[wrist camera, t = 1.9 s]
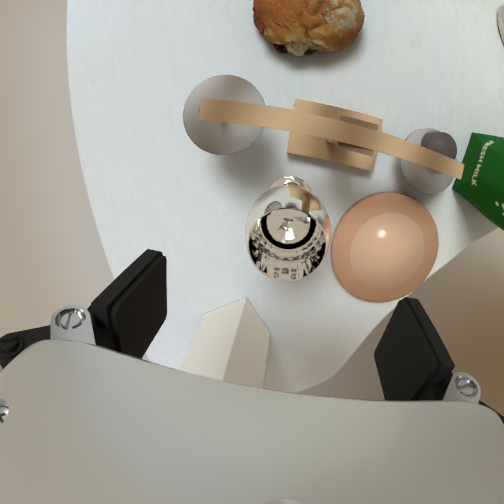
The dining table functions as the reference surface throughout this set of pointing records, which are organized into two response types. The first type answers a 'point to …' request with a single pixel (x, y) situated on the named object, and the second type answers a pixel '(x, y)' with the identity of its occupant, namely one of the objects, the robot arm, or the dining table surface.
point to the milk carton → (484, 176)
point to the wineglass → (287, 231)
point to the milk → (230, 345)
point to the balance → (314, 132)
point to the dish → (384, 247)
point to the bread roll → (308, 24)
